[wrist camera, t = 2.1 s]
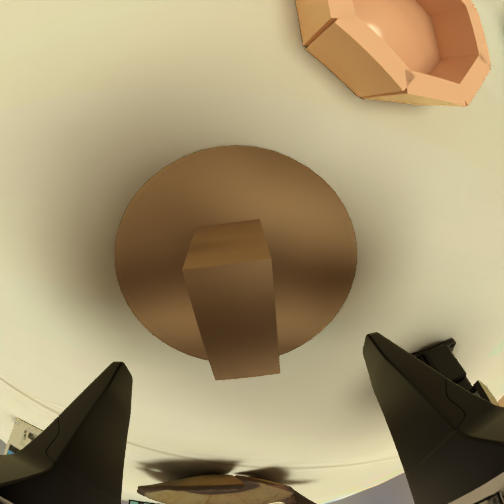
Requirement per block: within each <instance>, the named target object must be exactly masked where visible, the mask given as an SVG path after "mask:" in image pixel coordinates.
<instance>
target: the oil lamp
mask: <svg viewBox="0 0 504 504" xmlns="http://www.w3.org/2000/svg"><path fill="white" fill-rule="evenodd" d="M137 492H138V493H139V494H141V495H143V496H146V497H147V498H149V499H152V500H155V501H158V502H161V503H165V504H268V503H274V502H284V503H285V504H316V503H314V502H312V501H310V500H309V499H307V498H305V497H304V496H302V495H301V494H299V493H298V492H296V491H295V490H293V488H292V487H290V486H287V485H283V484H280V483H276V482H272V481H268V480H264V479H259V478H253V477H247V476H239V475H236V476H233V475H226V474H225V475H222V474H217V475H200V476H193V477H188V478H182V479H177V480H173V481H168V482H163V483H159V484H154V485H146V486H139V487H138V490H137Z"/></svg>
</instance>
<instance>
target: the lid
mask: <svg viewBox="0 0 504 504" xmlns="http://www.w3.org/2000/svg"><path fill="white" fill-rule="evenodd" d="M356 264H357V245H356V238H355V232H354V229H353V225H352V222H351V219H350V217H349V215H348V213H347V210H346V208H345V206H344V204H343V203H342V201H341V200H340V199H339V197H338V196H337V194H336V193H335V191H334V190H333V189H332V188H331V187H330V186H329V185H328V184H327V183H326V182H325V181H324V180H323V179H322V178H321V177H320V176H318V175H317V174H316V173H315V172H313V171H312V170H311V169H310V168H308V167H306V166H304V165H303V164H301V163H299V162H297V161H296V160H294V159H292V158H290V157H288V156H285V155H283V154H280V153H277V152H275V151H272V150H267V149H263V148H258V147H251V146H237V145H235V146H221V147H214V148H210V149H205V150H201V151H198V152H195V153H192V154H190V155H187V156H185V157H182V158H181V159H179V160H177V161H175V162H173V163H172V164H170V165H168V166H166V167H165V168H163V169H162V170H161V171H159V172H158V173H157V174H156V175H154V176H153V177H152V178H150V179H149V180H148V181H147V182H146V183H145V184H144V186H143V187H142V188H141V189H140V190H139V191H138V192H137V193H136V195H135V196H134V198H133V199H132V201H131V202H130V204H129V205H128V207H127V209H126V211H125V213H124V215H123V217H122V220H121V222H120V226H119V229H118V233H117V237H116V244H115V268H116V274H117V279H118V282H119V285H120V289H121V292H122V294H123V296H124V298H125V300H126V302H127V304H128V306H129V307H130V309H131V310H132V312H133V313H134V315H135V316H136V317H137V319H138V320H139V321H140V322H141V323H142V325H143V326H144V327H145V328H147V329H148V330H149V331H150V332H151V333H152V334H153V335H154V336H156V337H157V338H158V339H160V340H161V341H162V342H164V343H166V344H167V345H169V346H171V347H172V348H174V349H176V350H178V351H181V352H183V353H185V354H188V355H191V356H194V357H197V358H200V359H204V360H209V362H210V365H211V368H212V371H213V374H214V377H215V380H226V379H237V378H247V377H256V376H264V375H271V374H278V373H280V365H279V355H282V354H284V353H287V352H289V351H291V350H293V349H295V348H297V347H299V346H301V345H303V344H304V343H306V342H307V341H309V340H311V339H312V338H313V337H314V336H316V335H317V334H318V333H319V332H321V331H322V330H323V329H324V328H325V327H326V326H327V325H328V324H329V323H330V322H331V321H332V319H333V318H334V317H335V315H336V314H337V313H338V312H339V310H340V308H341V307H342V305H343V304H344V302H345V300H346V298H347V296H348V294H349V291H350V289H351V286H352V283H353V280H354V276H355V271H356Z"/></svg>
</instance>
